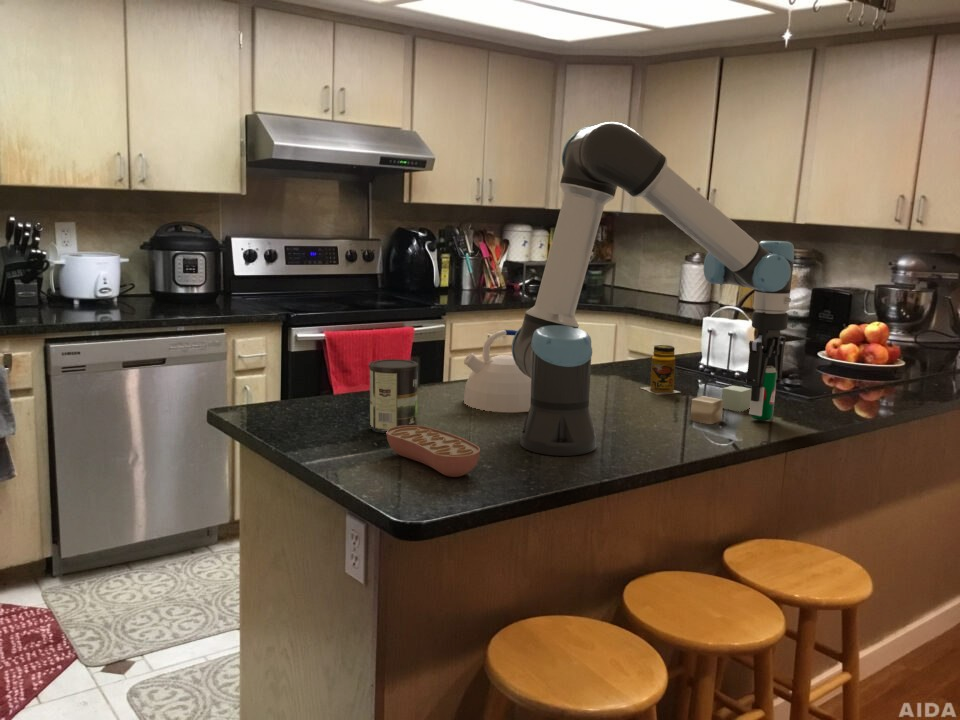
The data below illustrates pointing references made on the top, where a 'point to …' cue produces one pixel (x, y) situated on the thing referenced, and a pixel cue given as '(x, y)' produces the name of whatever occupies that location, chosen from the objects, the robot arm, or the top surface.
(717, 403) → the maple block
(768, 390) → the soda can
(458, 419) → the top surface
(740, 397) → the sage block
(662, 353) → the condiment
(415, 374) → the coffee can
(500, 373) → the kettle
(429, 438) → the anatomical model
